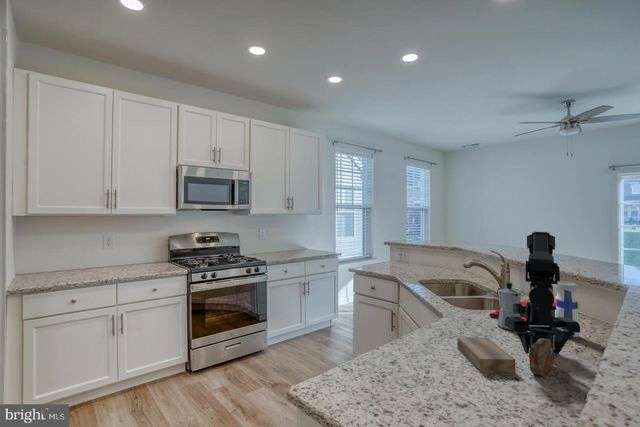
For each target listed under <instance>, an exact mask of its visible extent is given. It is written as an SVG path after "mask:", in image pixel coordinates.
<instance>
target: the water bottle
mask: <svg viewBox="0 0 640 427" xmlns="http://www.w3.org/2000/svg"><path fill="white" fill-rule="evenodd" d="M580 275H581V273H580V270H579V269H578V270H577V278H578V280H579V279H581V276H580ZM552 286H553V288H556V292H557V293H556V296H554V299H555V300H556V302H557V306H556V310H555V312H554V317H567V318H569V319H572V320H574V321H576V322H578V323H579V311H578V310H579V308H580V302H579V300H578V298H577V295H576V294H578V288H580V286H579V285H578V284H577V283H575V282H571V281H561V280H560V281H558V285H557V284H552ZM578 337H580V333H575V335H572V336H571V337H570V338H578Z"/></svg>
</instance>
